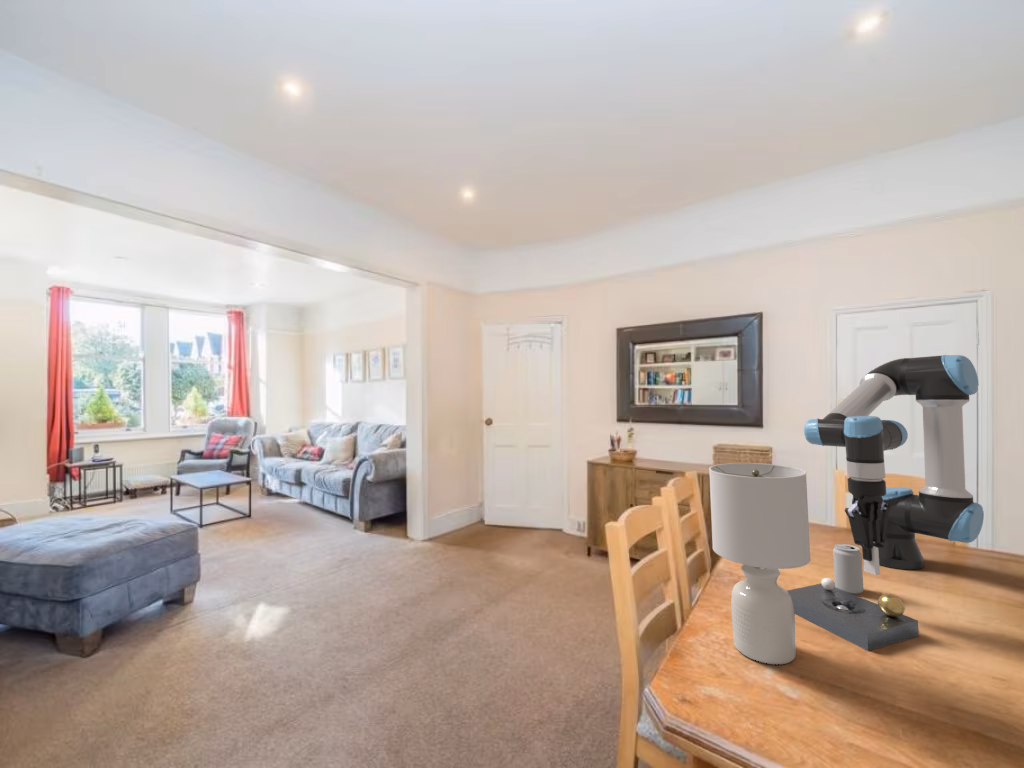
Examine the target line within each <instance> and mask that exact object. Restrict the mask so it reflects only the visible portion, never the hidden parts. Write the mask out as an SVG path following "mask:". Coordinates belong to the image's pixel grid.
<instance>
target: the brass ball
mask: <svg viewBox="0 0 1024 768" xmlns="http://www.w3.org/2000/svg"><path fill="white" fill-rule="evenodd" d="M877 604H878V606H879V608H880V610H881V611H882V612H883V613H884V614H886V615H888V616H891V617H899V616H901V615H902V614H903V615H904V613H905V610H906V607H905V604H904V603H903V600H901V599H900V598H899V597H898V596H896V595H895V594H891V593H884V594H882V595H880V596H879V597H878V598H877Z"/></svg>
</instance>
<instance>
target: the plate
mask: <svg viewBox="0 0 1024 768" xmlns="http://www.w3.org/2000/svg"><path fill="white" fill-rule="evenodd" d="M786 591H787V592H788V593H789V594H790V596H791V598H792V601H793V606H794V614H795V615H797V616H798V617H801V618H802V619H805V620H806V621H808V622H810V623H812V624H814V625H816V626H818V627H820V628H822V629H824V630H826V631H828V632H830V633H832V634H834V635H836V636H838V637H840V638H842V639H844V640H846V641H847V642H850V643H851V644H854V645H855V646H858V647H859V648H862V649H864V650H866V651H868V652H870V651H871V650H876V649H880V648H883V647H887V646H889V645H894V644H896V643H900V642H903V641H904V642H905V641H907V640H910V639H915V638H917V637H918V638H919V636H920V635H919V634H920V631H919V620H917V619H915V618H913V617H911V616H908V615H906V614H904V613H903V614H902V615H901V616H899V617H891V616H888V615H886V614H884V613H883V612H882V611H881V610H880V608H879V606H878V603H875V602H873V601H871V600H868V599H866V598H863V597H860V596H858V595H857V594H851V593H849V592H846V591H844V590H841V589H839V588H837V587H836V586H835V588H834V589H833V590H827V589H825V588H824V587H823V586H822V584H821V583H816V584H812V585H808V586H801V587H798V588H794V589H788V590H786ZM838 605H843V606H845V607H847V608H848V609H849V610H844V609H840V608H837V607H836V606H838Z"/></svg>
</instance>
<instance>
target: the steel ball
mask: <svg viewBox="0 0 1024 768" xmlns="http://www.w3.org/2000/svg"><path fill="white" fill-rule="evenodd" d="M836 607H837V608H840V609H844V610H849V609H848V608H847V607H845V606H843V605H838V606H836Z"/></svg>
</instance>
